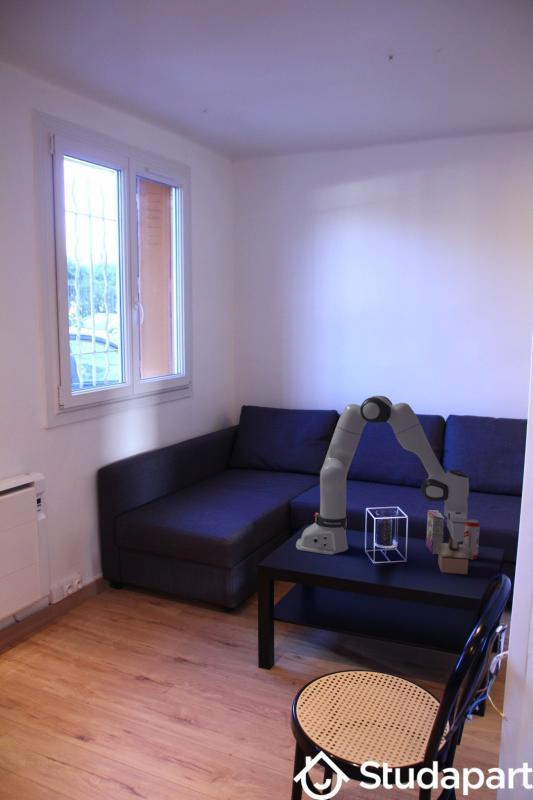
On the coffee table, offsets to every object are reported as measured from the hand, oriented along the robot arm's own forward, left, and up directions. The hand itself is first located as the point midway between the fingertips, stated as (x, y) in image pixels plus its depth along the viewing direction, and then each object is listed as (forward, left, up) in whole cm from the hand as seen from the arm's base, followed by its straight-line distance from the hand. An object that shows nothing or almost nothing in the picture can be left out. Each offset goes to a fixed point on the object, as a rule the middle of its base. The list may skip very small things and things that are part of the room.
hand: (453, 545), depth 251 cm
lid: (0, 0, -3) cm, 3 cm away
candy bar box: (-5, +20, -10) cm, 23 cm away
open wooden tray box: (0, 0, -10) cm, 10 cm away
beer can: (+9, +14, -10) cm, 19 cm away
